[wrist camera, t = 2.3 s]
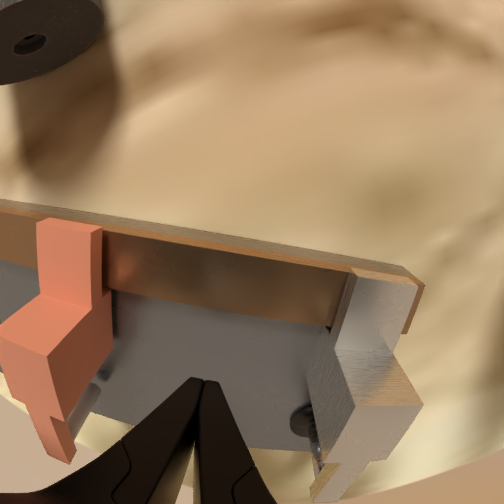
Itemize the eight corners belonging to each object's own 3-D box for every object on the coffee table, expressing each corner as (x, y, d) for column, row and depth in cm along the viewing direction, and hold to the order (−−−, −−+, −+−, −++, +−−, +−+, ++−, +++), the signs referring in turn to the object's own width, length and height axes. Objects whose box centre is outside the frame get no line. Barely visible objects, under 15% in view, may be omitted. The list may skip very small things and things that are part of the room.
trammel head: (113, 221, 10) (33, 263, 5) (118, 398, 12) (83, 470, 8) (62, 213, 10) (-24, 246, 5) (77, 385, 12) (35, 448, 8)
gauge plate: (404, 261, 11) (485, 329, 6) (331, 435, 14) (350, 518, 9) (-53, 188, 11) (-122, 208, 5) (-31, 339, 13) (-78, 380, 8)
